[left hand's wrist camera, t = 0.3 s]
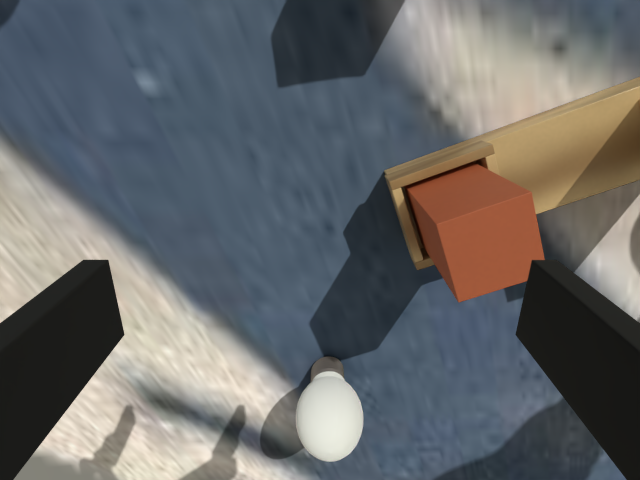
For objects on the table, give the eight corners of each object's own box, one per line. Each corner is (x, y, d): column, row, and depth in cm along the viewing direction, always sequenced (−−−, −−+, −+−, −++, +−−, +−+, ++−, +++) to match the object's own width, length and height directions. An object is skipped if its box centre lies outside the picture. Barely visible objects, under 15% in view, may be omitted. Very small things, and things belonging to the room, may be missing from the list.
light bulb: (308, 340, 45) (304, 417, 34) (365, 355, 45) (378, 434, 35) (292, 387, 47) (284, 471, 37) (346, 400, 48) (353, 486, 38)
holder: (379, 168, 38) (407, 208, 26) (696, 52, 34) (902, 34, 22) (405, 247, 41) (440, 316, 29) (699, 147, 37) (883, 178, 25)
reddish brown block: (402, 183, 35) (435, 224, 25) (469, 159, 35) (532, 191, 24) (421, 242, 37) (458, 302, 27) (484, 221, 37) (547, 274, 26)
